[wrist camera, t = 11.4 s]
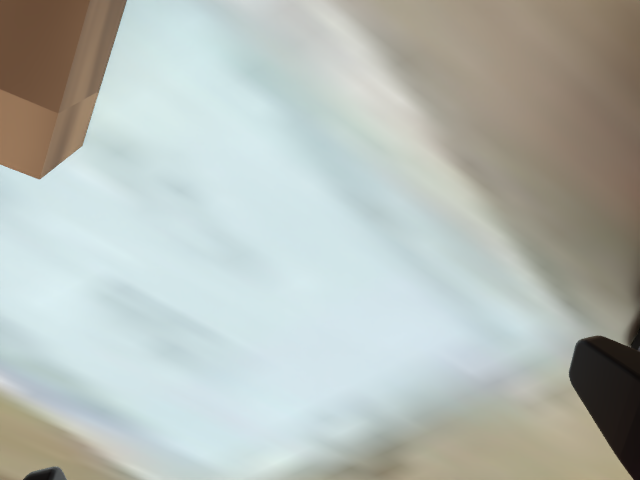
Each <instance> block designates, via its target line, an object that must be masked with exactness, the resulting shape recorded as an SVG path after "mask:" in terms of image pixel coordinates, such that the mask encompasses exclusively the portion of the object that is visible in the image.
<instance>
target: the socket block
mask: <svg viewBox="0 0 640 480" xmlns="http://www.w3.org/2000/svg"><path fill="white" fill-rule="evenodd" d="M126 1H127V0H0V165H3V166H6V167H8V168H11V169H14V170H16V171H19V172H21V173H24V174H27V175H29V176H32V177H35V178H37V179H41V178H42V177H44V176H45V175H46V174H47V173H49V172H50V171H51V170H52V169H54V168H55V167H56V166H57V165H59V164H60V163H61V162H62V161H64V160H65V159H66V158H68V157H69V156H70V155H71V154H73V153H74V152H75V151H76V150H78V149H79V148H80V147H81V146H82V145H83V142H84V138H85V135H86V132H87V129H88V125H89V122H90V119H91V116H92V112H93V109H94V106H95V102H96V99H97V96H98V93H99V89H100V86H101V83H102V80H103V76H104V73H105V70H106V67H107V63H108V60H109V57H110V54H111V50H112V47H113V44H114V41H115V37H116V34H117V31H118V28H119V24H120V21H121V18H122V14H123V11H124V8H125V5H126Z"/></svg>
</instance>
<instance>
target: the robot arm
mask: <svg viewBox="0 0 640 480" xmlns="http://www.w3.org/2000/svg"><path fill="white" fill-rule="evenodd" d="M569 377H570V381H571V384H572V386H573V387H574V389H575V391H576V392H577V394H578V395H579V397H580V399H581V400H582V402H583V403H584V405H585V407H586V408H587V410H588V411H589V413H590V415H591V416H592V418H593V420H594V421H595V423H596V424H597V426H598V428H599V429H600V431H601V432H602V434H603V436H604V437H605V439H606V440H607V442H608V444H609V445H610V447H611V448H612V450H613V451H614V453H615V454H616V456H617V457H618V459H619V460H620V462H621V463H622V464H623V466H624V467H625V469H626V470H627V471H628V473H629V474H630V475H631V477H632V478H633V479H634V480H640V330H639V332H638V334H637V336H636V338H635V340H634V342H633V344H632V346H631V348H630V347H628V346H625V345H623V344H621V343H618V342H616V341H613V340H611V339H608V338H606V337H603V336H593V337H588V338H584V339H581V340H579V341H578V342H577V343H576V346H575V349H574V353H573V357H572V361H571V365H570V369H569ZM23 480H67V479H66V477H65V475H64V473H63V471H62V470H61V469H60V468H59V467H50V468H46V469H41V470H37V471H34V472H31V473H29V474H28V475H27V476H26V477H25V478H24V479H23Z"/></svg>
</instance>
